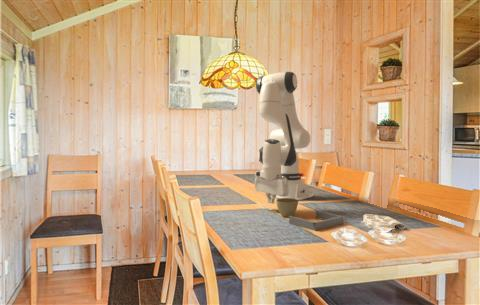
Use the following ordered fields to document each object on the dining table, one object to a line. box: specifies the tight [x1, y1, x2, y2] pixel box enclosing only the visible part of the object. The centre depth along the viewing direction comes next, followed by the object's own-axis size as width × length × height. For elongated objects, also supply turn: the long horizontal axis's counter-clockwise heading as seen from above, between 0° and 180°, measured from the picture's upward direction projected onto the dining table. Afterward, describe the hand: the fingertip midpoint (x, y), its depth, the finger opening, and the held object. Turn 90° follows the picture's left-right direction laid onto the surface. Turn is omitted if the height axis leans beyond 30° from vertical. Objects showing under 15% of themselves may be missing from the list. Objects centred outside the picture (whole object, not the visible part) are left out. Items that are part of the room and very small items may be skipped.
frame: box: [288, 210, 344, 231], centre depth 162 cm, size 18×14×3 cm
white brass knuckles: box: [360, 213, 406, 231], centre depth 158 cm, size 3×18×15 cm
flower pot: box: [275, 198, 299, 218], centre depth 175 cm, size 10×10×7 cm
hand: (270, 202), depth 182 cm, fingers closed
